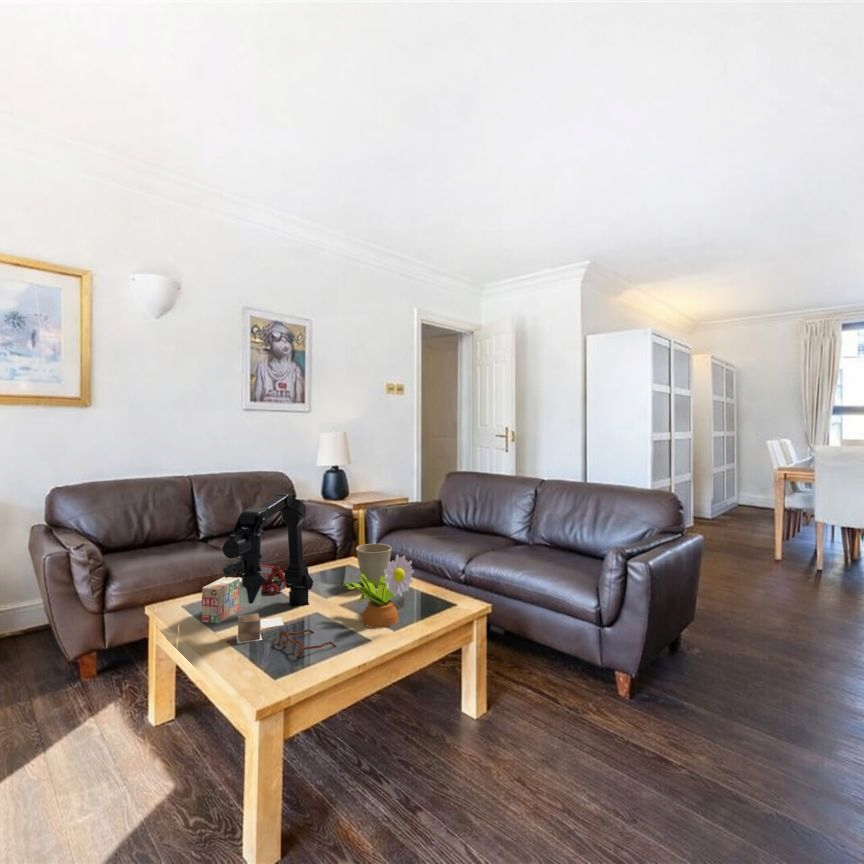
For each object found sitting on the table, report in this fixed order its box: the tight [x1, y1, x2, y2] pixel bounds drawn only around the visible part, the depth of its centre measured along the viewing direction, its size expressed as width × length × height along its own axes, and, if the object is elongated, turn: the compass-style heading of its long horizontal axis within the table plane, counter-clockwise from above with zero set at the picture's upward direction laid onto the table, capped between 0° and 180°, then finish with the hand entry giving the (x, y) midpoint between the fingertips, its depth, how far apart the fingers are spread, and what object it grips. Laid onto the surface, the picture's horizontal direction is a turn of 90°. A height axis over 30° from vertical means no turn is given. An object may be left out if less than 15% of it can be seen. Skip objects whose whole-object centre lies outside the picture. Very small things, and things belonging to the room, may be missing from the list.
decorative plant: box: [342, 554, 415, 628], centre depth 174 cm, size 27×24×25 cm
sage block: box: [239, 582, 262, 608], centre depth 156 cm, size 6×6×6 cm
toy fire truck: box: [259, 564, 287, 595], centre depth 199 cm, size 7×12×10 cm, turn 82°
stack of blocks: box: [201, 576, 245, 625], centre depth 176 cm, size 21×6×12 cm, turn 168°
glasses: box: [278, 628, 337, 658], centre depth 152 cm, size 13×13×5 cm
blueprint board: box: [235, 616, 285, 645], centre depth 160 cm, size 20×19×1 cm
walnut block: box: [237, 612, 261, 643], centre depth 156 cm, size 6×6×6 cm
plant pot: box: [355, 543, 392, 588], centre depth 210 cm, size 15×15×16 cm
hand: (249, 600), depth 156 cm, fingers closed on sage block, 6 cm apart
